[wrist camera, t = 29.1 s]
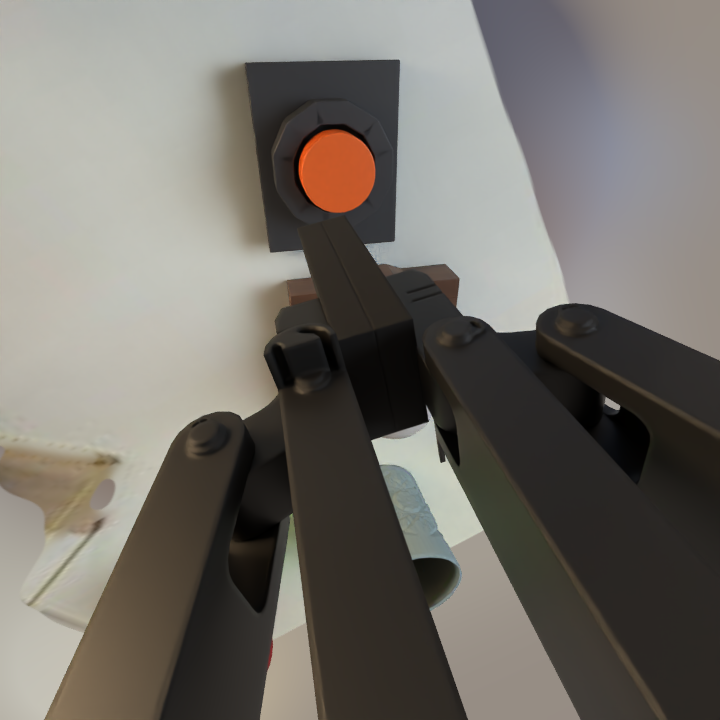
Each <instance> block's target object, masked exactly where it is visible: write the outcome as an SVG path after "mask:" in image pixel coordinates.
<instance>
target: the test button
mask: <svg viewBox="0 0 720 720" xmlns="http://www.w3.org/2000/svg"><path fill="white" fill-rule="evenodd" d="M298 172H299V178H300V181H301V184H302V186H303V188H304V190H305V192H306V194H307V196H308V197H309V198H310V200H311V201H312V202H313V203H314V204H315V205H316V206H318V207H319V208H321V209H323V210H325V211H328V212H333V213H343V212H347V211H350V210H353V209H355V208H356V207H358V206H359V205H361V204H362V203H363V202H364V201H365V200H366V198H367V197H368V196H369V194H370V192H371V190H372V188H373V185H374V181H375V163H374V160H373V157H372V154H371V152H370V151H369V149H368V147H367V146H366V145H365V144H364V143H363V142H362V141H361V140H359V139H358V138H357V137H355V136H354V135H352V134H350V133H348V132H346V131H343V130H339V129H329V130H325V131H322V132H320V133H318V134H316V135H314V136H313V137H312V138H311V139H310V140H309V141H308V142H307V143H306V145H305V146H304V148H303V150H302V152H301V155H300V158H299V164H298Z"/></svg>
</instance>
